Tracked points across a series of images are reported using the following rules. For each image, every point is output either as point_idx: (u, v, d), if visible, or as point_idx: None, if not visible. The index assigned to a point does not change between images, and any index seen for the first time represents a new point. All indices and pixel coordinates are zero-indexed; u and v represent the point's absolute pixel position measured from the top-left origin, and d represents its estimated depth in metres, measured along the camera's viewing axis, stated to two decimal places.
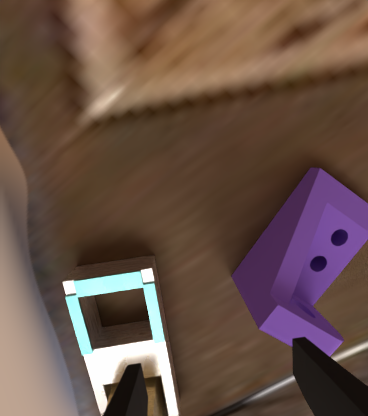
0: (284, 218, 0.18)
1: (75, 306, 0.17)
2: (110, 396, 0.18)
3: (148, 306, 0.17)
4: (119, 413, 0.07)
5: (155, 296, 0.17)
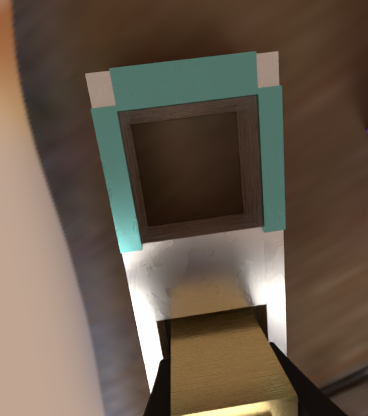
0: None
1: (111, 134, 0.08)
2: (173, 341, 0.09)
3: (263, 143, 0.08)
4: (163, 406, 0.07)
5: (280, 118, 0.08)
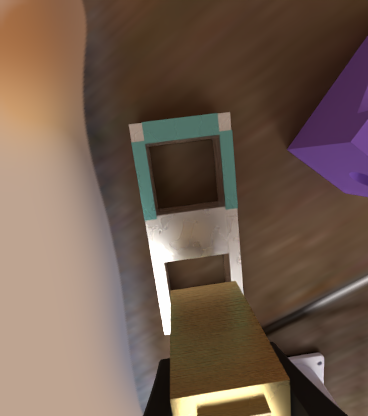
0: (356, 64, 0.16)
1: (141, 155, 0.15)
2: (173, 331, 0.10)
3: (223, 160, 0.15)
4: (163, 406, 0.07)
5: (232, 147, 0.15)
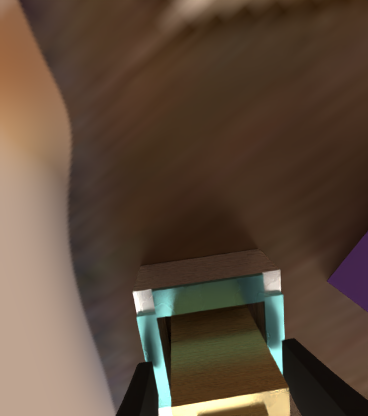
0: None
1: (152, 332, 0.10)
2: (174, 338, 0.10)
3: (268, 332, 0.11)
4: (134, 411, 0.07)
5: (282, 316, 0.10)
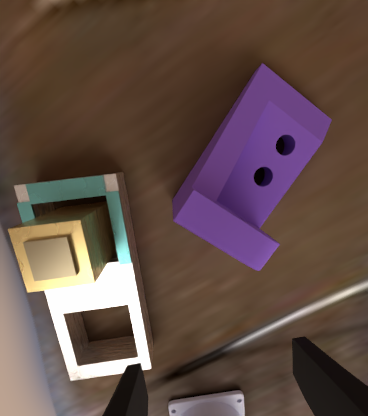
0: (223, 123, 0.16)
1: (28, 215, 0.15)
2: (40, 216, 0.15)
3: (112, 219, 0.15)
4: (119, 413, 0.07)
5: (119, 207, 0.15)
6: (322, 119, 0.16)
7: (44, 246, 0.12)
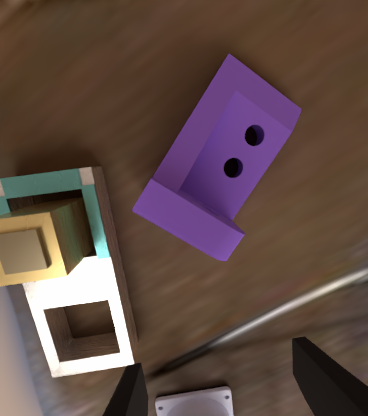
0: None
1: (4, 210, 0.15)
2: (15, 210, 0.14)
3: (88, 212, 0.15)
4: (119, 413, 0.07)
5: (95, 200, 0.15)
6: (292, 109, 0.16)
7: (13, 239, 0.12)
